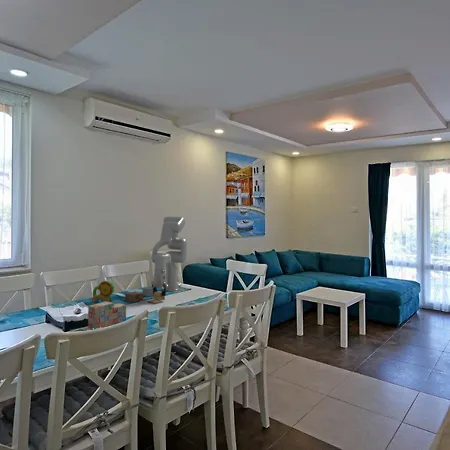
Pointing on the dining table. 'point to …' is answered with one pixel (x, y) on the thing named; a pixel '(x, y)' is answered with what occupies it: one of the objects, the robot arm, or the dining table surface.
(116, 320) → the stack of blocks
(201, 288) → the dining table surface
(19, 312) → the dining table surface
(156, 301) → the mat
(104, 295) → the toy lion
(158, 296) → the honey cube
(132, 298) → the walnut block
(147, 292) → the grey cube
